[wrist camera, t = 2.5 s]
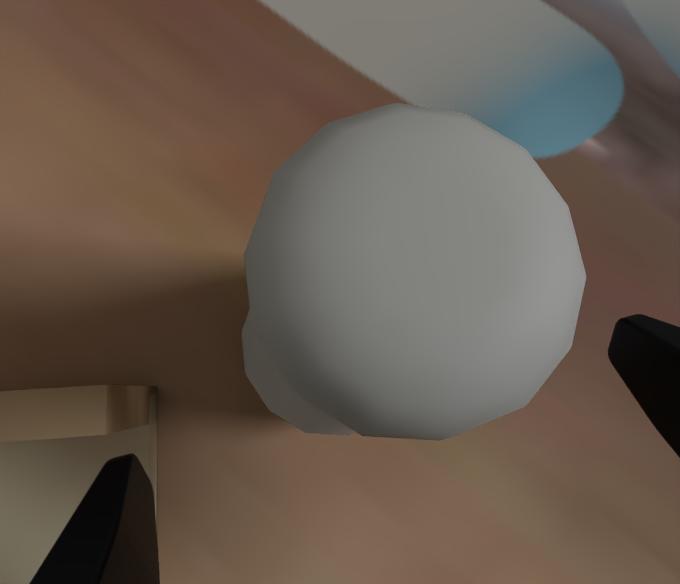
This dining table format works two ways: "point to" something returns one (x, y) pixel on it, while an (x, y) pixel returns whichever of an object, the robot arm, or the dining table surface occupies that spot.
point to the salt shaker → (408, 278)
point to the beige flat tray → (63, 460)
